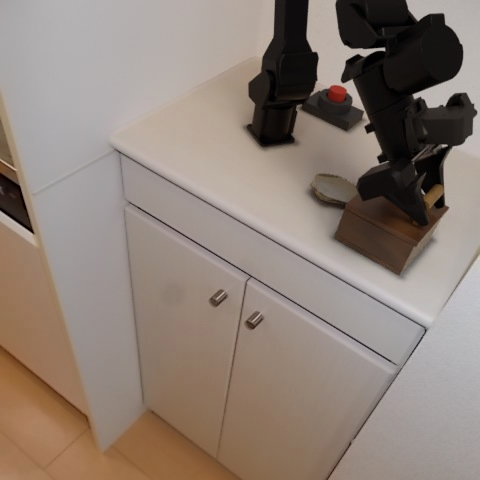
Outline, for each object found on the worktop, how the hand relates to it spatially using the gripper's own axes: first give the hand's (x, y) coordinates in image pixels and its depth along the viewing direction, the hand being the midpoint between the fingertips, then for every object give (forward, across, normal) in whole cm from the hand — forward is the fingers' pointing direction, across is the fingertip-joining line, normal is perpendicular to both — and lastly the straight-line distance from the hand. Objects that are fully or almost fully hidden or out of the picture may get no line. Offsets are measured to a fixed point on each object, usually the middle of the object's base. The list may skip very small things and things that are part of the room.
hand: (433, 216), depth 69 cm
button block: (-16, +25, +26) cm, 39 cm away
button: (-18, +25, +23) cm, 39 cm away
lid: (-2, 0, +5) cm, 5 cm away
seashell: (-6, +3, +16) cm, 17 cm away
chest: (+2, 0, +8) cm, 9 cm away
